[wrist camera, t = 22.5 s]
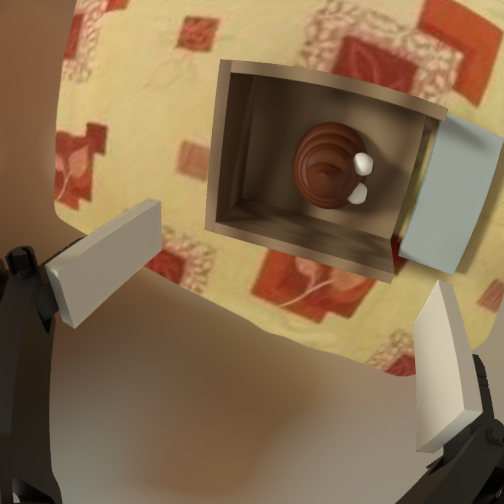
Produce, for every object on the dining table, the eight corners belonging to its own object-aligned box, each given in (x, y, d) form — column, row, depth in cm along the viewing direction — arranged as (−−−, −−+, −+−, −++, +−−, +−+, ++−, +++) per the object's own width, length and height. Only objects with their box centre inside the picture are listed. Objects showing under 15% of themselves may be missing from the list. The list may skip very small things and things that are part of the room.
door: (398, 255, 34) (452, 275, 32) (442, 110, 25) (503, 138, 23) (397, 251, 35) (451, 270, 33) (440, 110, 26) (500, 137, 24)
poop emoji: (302, 115, 32) (282, 121, 24) (377, 130, 30) (384, 141, 22) (291, 196, 37) (270, 227, 29) (360, 212, 35) (359, 248, 27)
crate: (235, 202, 41) (204, 229, 33) (252, 66, 31) (220, 59, 24) (386, 244, 36) (390, 283, 29) (426, 105, 27) (448, 108, 20)
